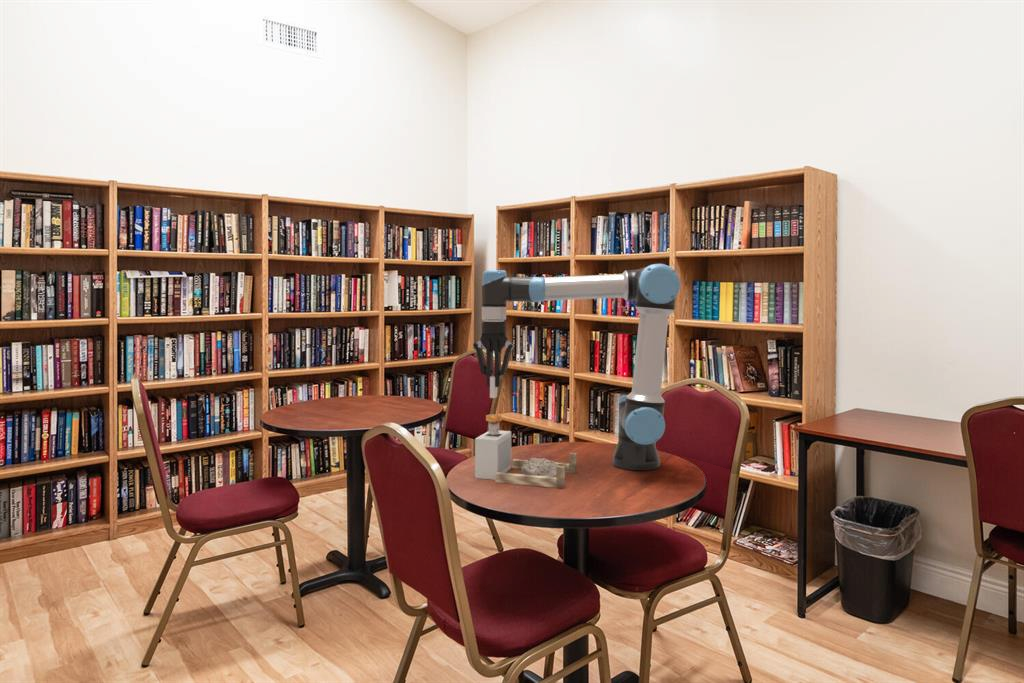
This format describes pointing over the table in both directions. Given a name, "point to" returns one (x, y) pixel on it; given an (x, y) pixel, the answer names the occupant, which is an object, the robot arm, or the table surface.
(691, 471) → the table surface
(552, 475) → the rock
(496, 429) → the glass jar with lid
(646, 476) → the table surface
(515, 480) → the track
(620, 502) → the table surface
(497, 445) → the white button box
